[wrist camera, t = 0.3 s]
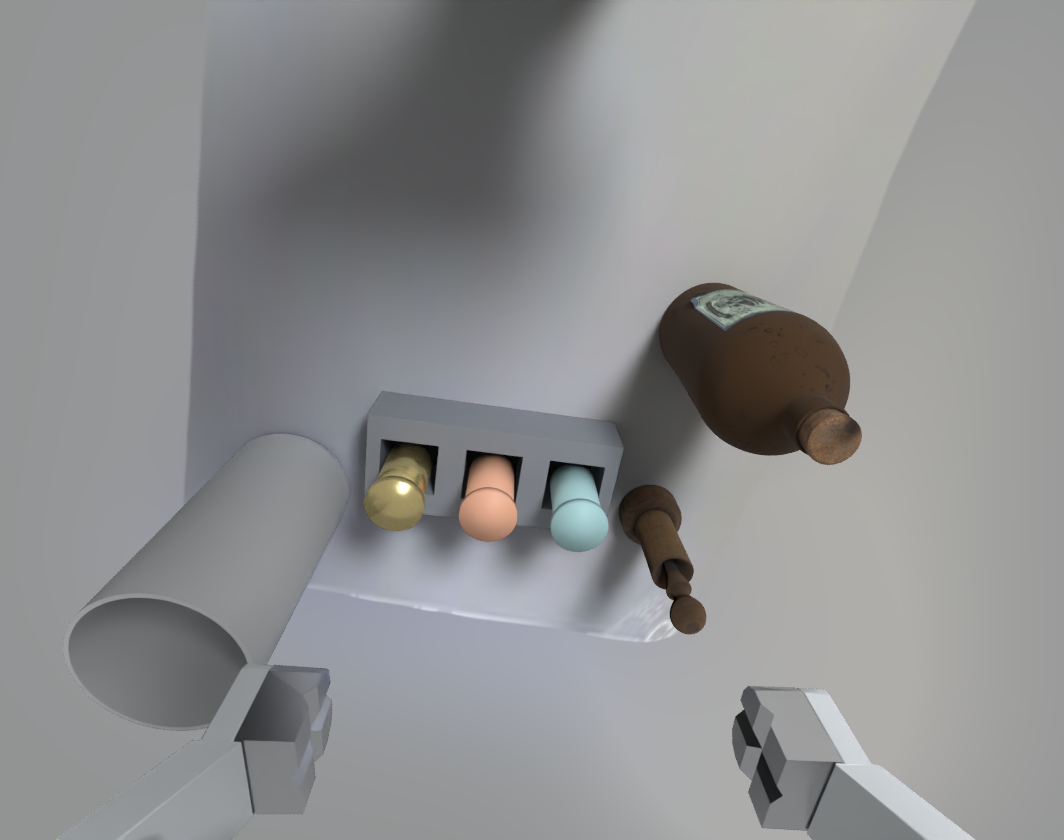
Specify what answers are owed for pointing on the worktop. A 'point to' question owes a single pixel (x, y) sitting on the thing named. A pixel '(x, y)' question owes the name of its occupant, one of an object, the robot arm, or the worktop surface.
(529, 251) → the worktop surface
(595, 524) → the plug
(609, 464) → the grey plug holder block
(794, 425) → the olive oil
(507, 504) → the plug
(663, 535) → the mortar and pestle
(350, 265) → the worktop surface
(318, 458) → the cylinder vase
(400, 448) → the plug
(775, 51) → the worktop surface
